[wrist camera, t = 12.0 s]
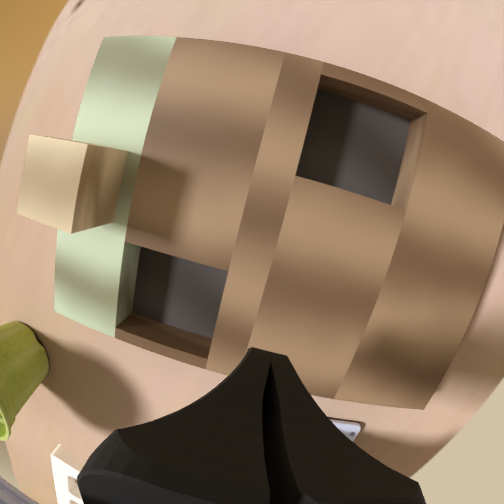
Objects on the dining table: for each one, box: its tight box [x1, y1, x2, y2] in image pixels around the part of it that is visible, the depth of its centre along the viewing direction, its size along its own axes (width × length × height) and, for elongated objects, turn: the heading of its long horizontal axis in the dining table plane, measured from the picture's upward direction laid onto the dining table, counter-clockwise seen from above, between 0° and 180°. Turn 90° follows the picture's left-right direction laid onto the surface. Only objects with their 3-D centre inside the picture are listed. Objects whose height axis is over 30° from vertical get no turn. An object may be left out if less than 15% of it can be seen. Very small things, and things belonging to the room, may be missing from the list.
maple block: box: [17, 134, 129, 234], centre depth 14 cm, size 4×4×4 cm
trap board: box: [54, 36, 504, 410], centre depth 17 cm, size 18×26×3 cm
